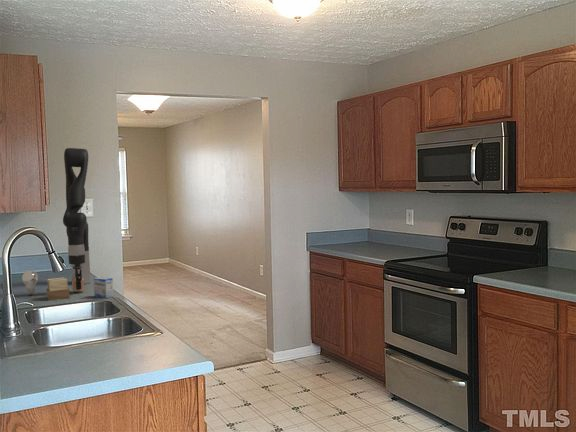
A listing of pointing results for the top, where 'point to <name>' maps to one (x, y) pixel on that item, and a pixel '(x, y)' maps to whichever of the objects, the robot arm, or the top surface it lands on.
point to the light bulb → (30, 281)
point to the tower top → (57, 284)
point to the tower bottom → (57, 294)
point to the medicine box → (103, 287)
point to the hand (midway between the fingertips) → (78, 288)
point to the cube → (75, 285)
